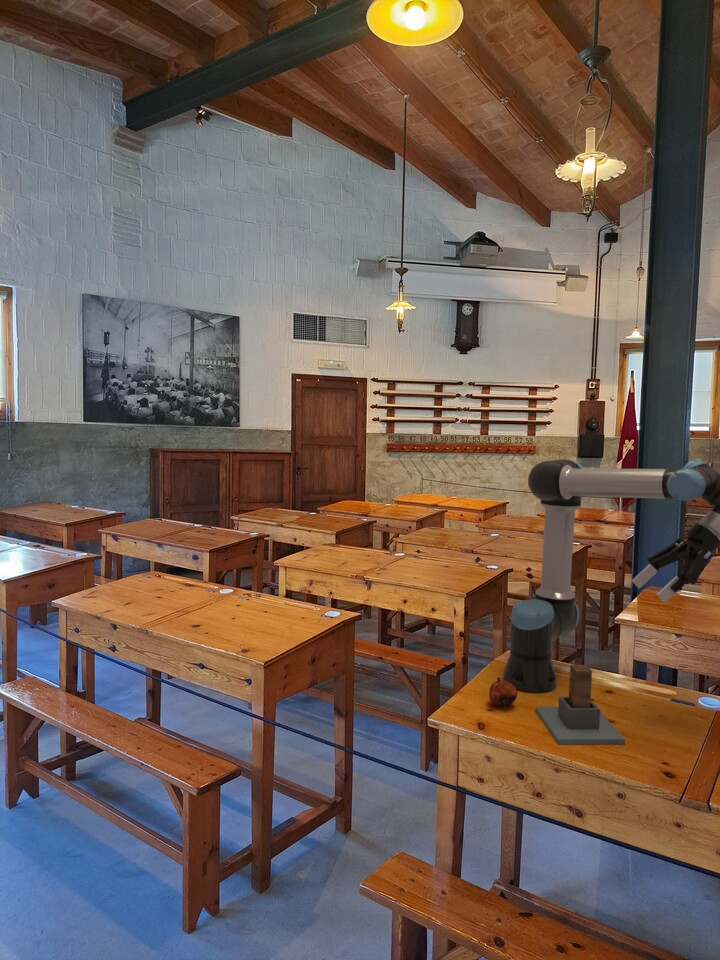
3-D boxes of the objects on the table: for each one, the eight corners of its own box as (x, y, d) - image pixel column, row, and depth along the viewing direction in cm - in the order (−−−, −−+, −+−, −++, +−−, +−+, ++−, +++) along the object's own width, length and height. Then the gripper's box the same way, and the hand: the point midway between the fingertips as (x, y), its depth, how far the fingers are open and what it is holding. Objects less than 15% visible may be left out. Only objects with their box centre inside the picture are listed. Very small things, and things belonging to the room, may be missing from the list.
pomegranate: (519, 718, 176) (514, 684, 184) (519, 704, 172) (515, 669, 179) (491, 719, 178) (487, 685, 185) (490, 705, 173) (486, 671, 180)
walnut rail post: (567, 718, 169) (570, 664, 168) (583, 718, 169) (585, 664, 168) (573, 725, 165) (575, 670, 164) (589, 725, 165) (592, 670, 164)
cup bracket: (535, 711, 176) (536, 688, 175) (595, 711, 177) (596, 688, 176) (558, 744, 158) (559, 719, 157) (624, 744, 159) (626, 719, 158)
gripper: (749, 553, 156) (682, 616, 157) (692, 535, 181) (635, 589, 182) (729, 531, 155) (662, 593, 156) (674, 515, 180) (617, 569, 181)
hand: (647, 591), depth 169 cm, fingers open, 13 cm apart
